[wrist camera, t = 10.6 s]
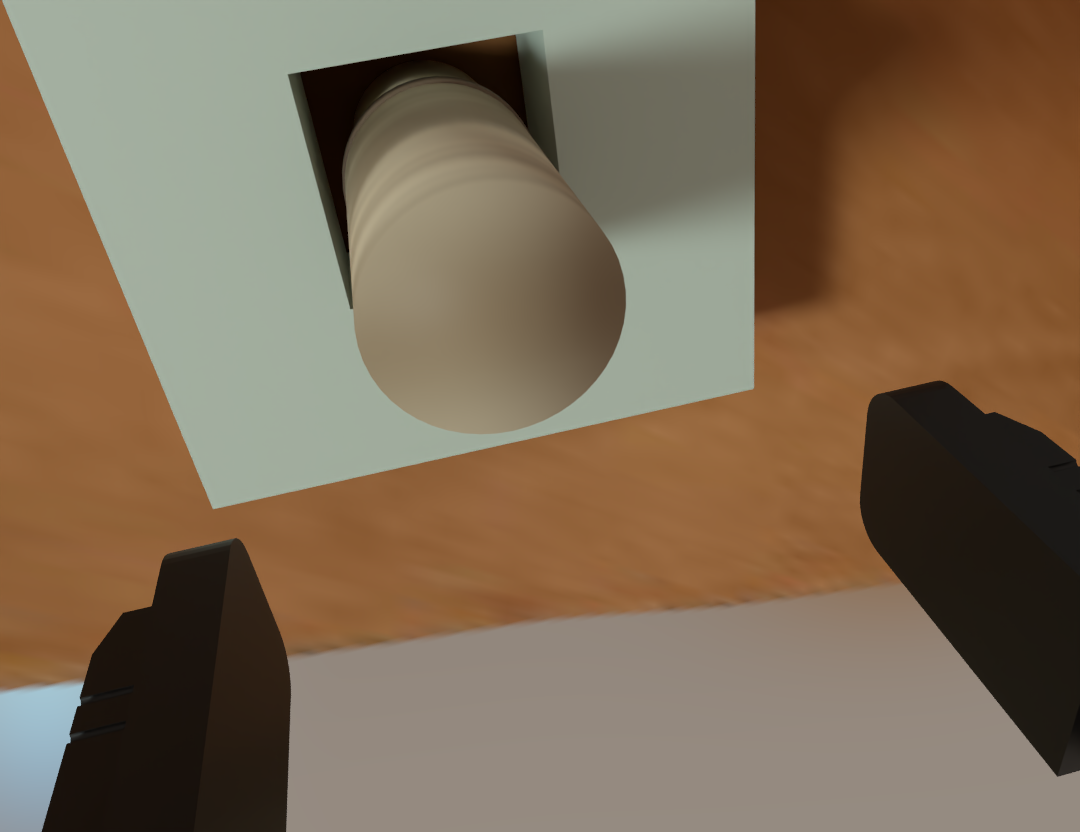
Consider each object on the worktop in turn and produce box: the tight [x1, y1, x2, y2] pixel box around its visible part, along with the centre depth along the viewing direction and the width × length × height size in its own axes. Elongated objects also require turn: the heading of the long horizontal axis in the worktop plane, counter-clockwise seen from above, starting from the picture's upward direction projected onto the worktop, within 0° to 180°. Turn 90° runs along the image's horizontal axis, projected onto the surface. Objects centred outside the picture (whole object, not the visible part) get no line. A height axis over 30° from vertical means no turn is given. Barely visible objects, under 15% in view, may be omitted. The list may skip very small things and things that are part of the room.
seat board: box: [2, 0, 755, 509], centre depth 23 cm, size 16×16×4 cm
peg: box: [342, 60, 626, 434], centre depth 20 cm, size 5×5×12 cm
